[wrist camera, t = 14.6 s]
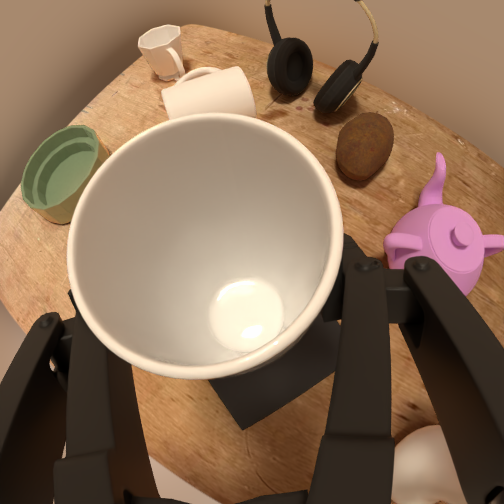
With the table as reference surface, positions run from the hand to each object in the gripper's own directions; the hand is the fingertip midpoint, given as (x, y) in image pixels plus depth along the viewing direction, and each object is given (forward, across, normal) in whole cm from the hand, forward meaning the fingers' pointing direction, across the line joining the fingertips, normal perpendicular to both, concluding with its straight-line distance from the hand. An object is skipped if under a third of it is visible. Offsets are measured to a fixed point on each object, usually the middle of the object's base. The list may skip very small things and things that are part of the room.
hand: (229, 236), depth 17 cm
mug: (+30, -2, +6) cm, 31 cm away
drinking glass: (+2, 0, -6) cm, 7 cm away
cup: (+38, -7, +14) cm, 41 cm away
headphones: (+31, +12, +6) cm, 34 cm away
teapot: (+13, +20, -12) cm, 27 cm away
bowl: (+26, -22, +2) cm, 34 cm away
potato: (+23, +16, -2) cm, 28 cm away
